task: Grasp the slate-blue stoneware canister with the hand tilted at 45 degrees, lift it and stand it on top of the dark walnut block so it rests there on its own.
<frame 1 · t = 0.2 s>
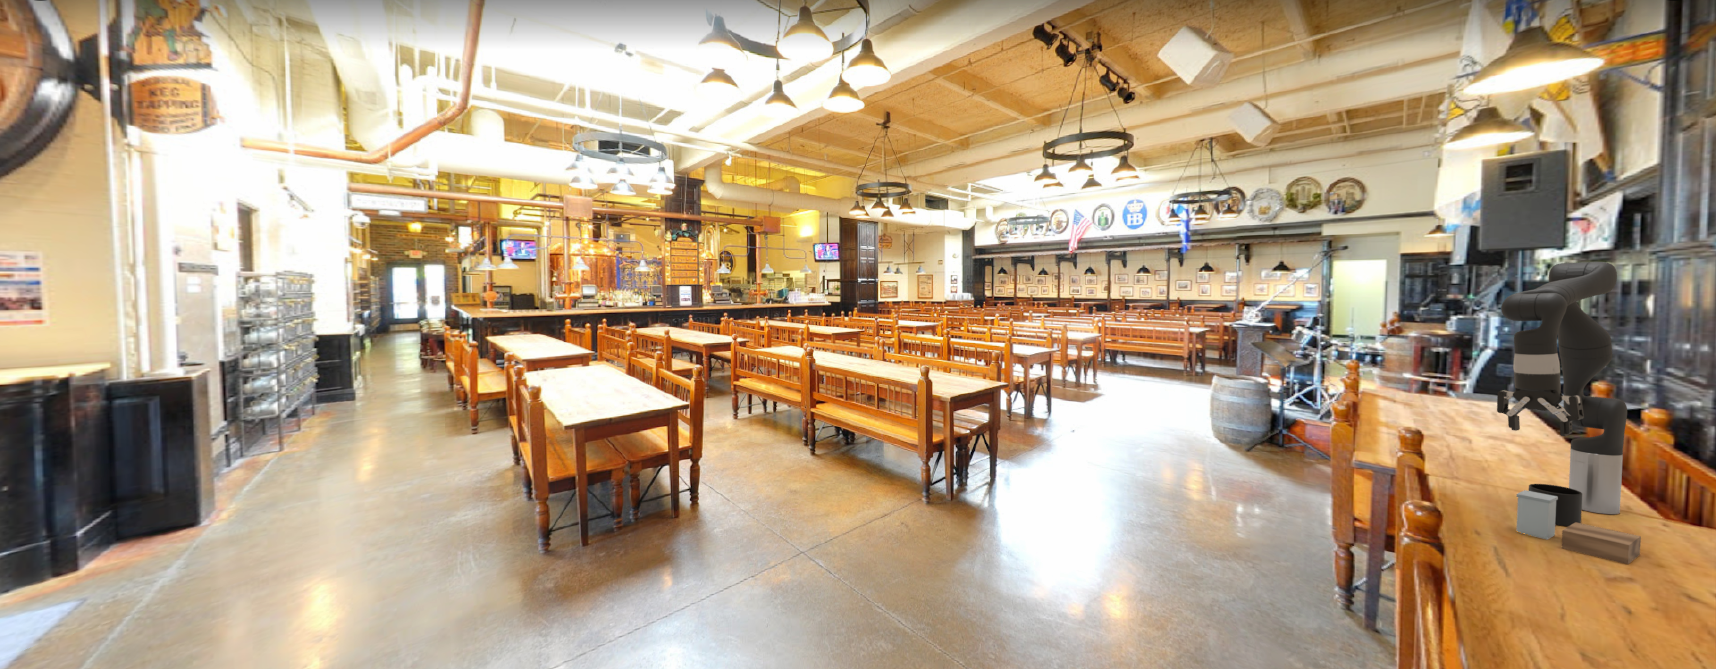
hand: (1539, 432, 143), 29 cm above the table, tool pointing down, fingers open, 8 cm apart
canister: (1535, 533, 149), on the table
walnut block: (1599, 552, 138), on the table
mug: (1553, 519, 158), on the table
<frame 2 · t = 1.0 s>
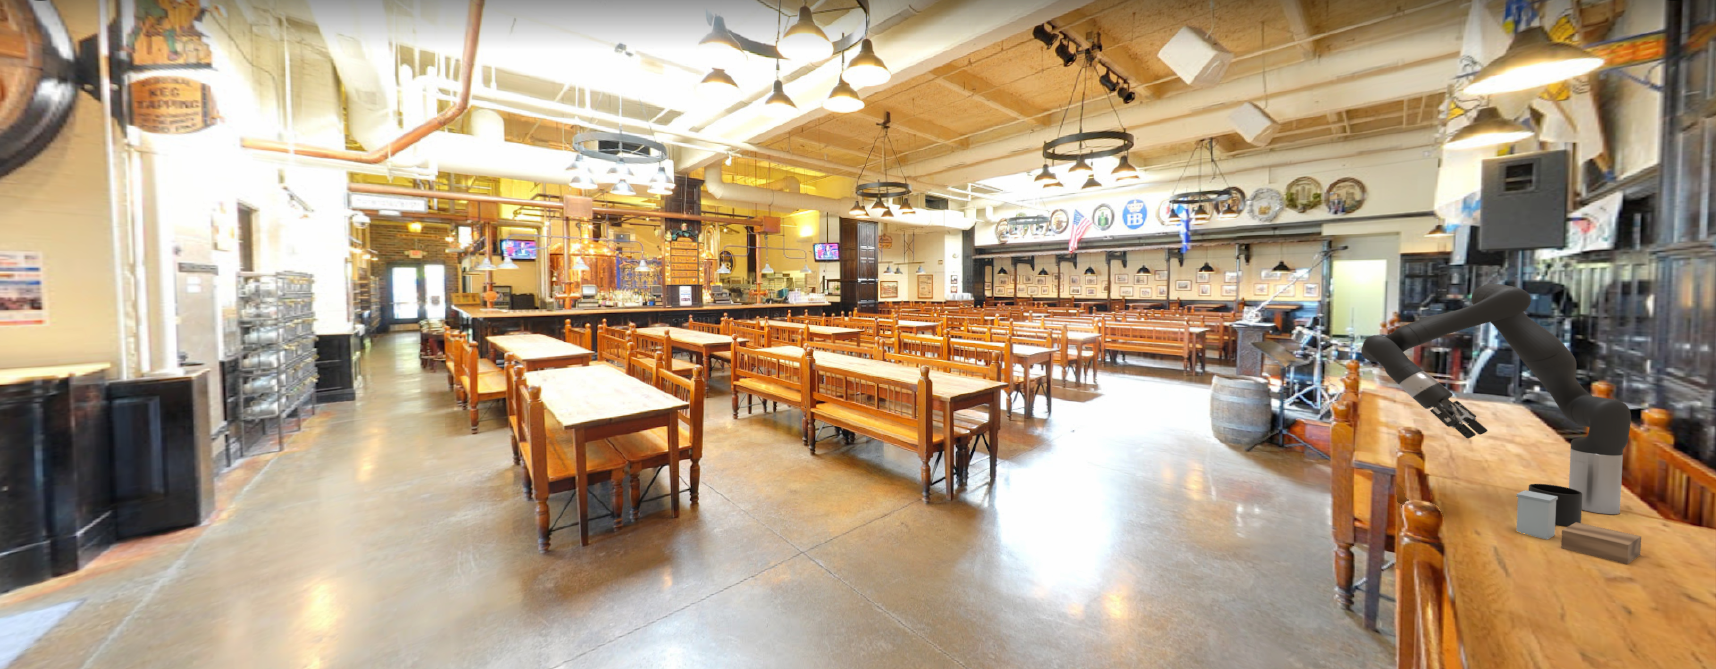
hand: (1478, 434, 158), 25 cm above the table, tool tilted 45°, fingers open, 8 cm apart
nothing on the table moved.
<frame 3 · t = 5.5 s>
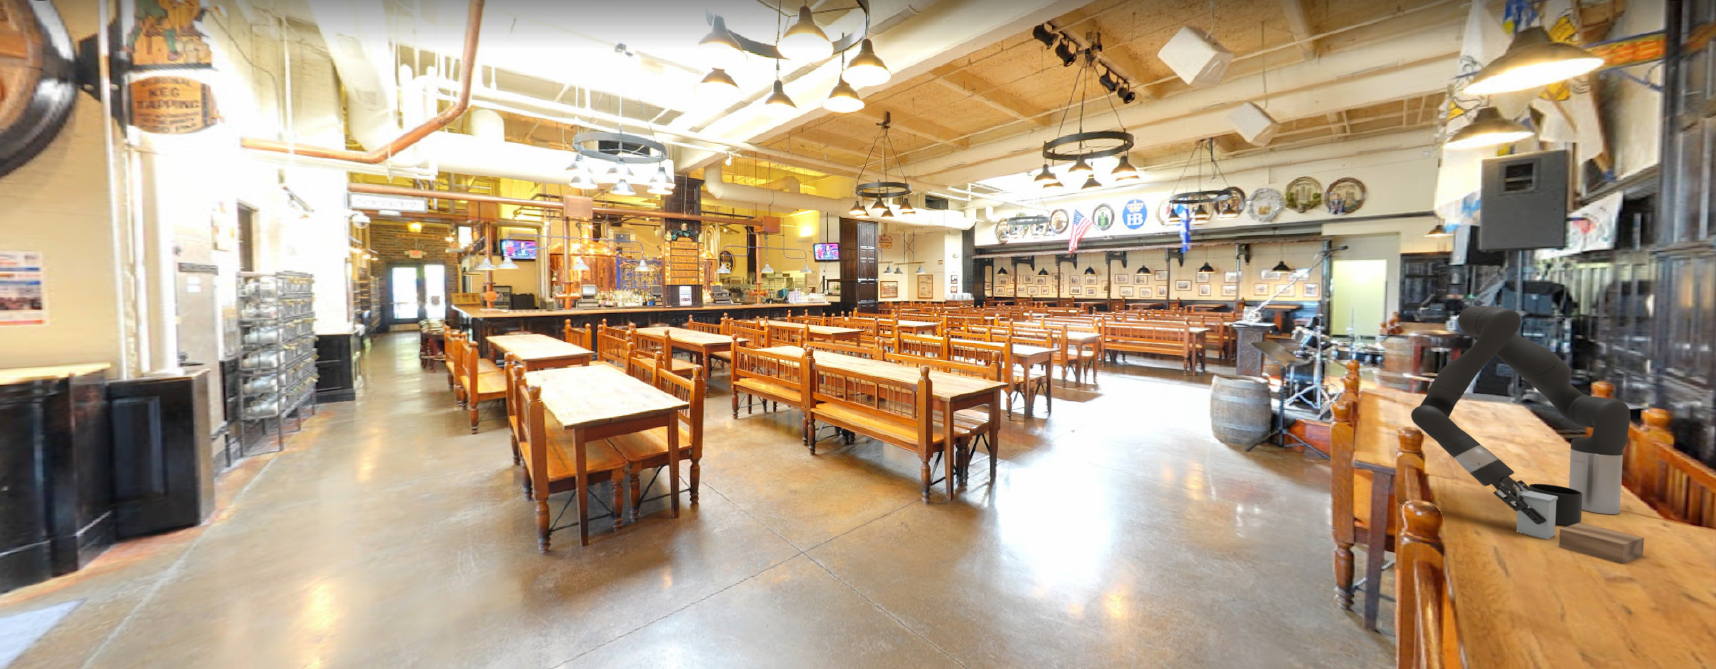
hand: (1546, 520, 147), 4 cm above the table, tool tilted 45°, fingers closed on canister, 5 cm apart
canister: (1535, 533, 149), on the table, touching gripper
everything else where it was.
when the fingers open (10 cm above the table, at t = 10.6 s): canister drops 1 cm, point 5 cm above the table.
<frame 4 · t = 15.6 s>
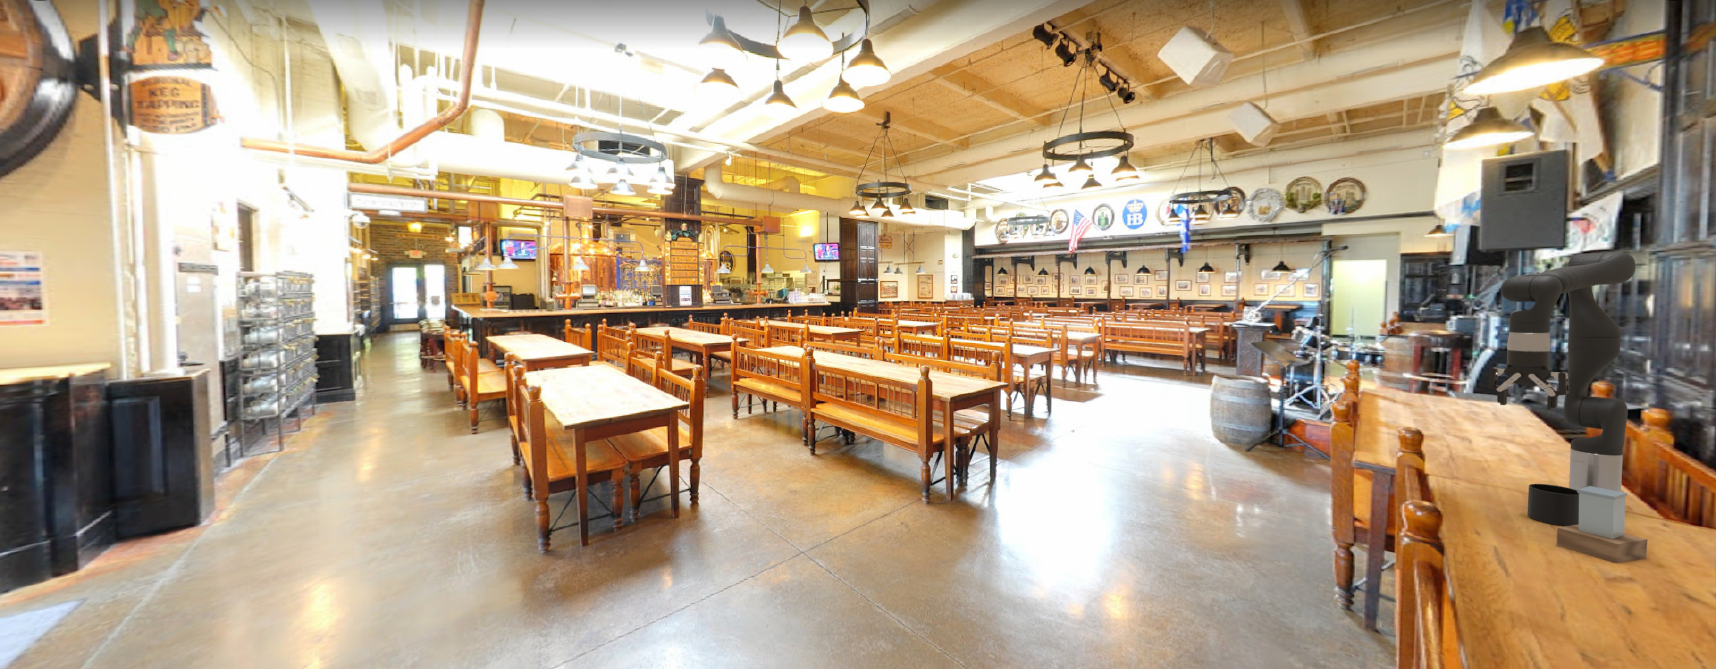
hand: (1526, 407, 153), 33 cm above the table, tool pointing down, fingers open, 8 cm apart
canister: (1601, 532, 138), point 5 cm above the table
at the end: canister inside the target area on the walnut block (0.1 cm from its centre), point 5.0 cm above the walnut block's base; canister tilted 1°; the gripper is holding nothing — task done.
